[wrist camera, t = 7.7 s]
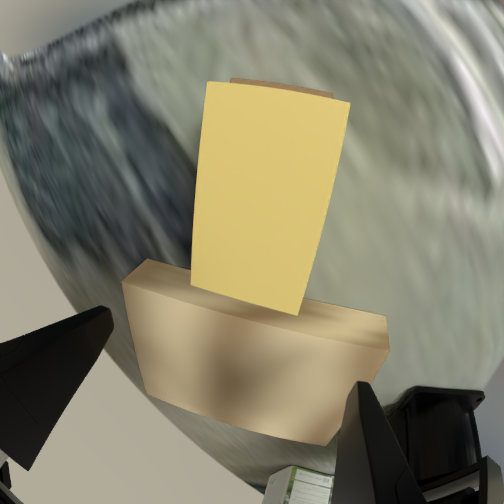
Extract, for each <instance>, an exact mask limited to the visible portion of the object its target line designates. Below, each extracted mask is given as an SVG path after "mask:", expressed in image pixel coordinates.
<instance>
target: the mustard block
mask: <svg viewBox="0 0 504 504" xmlns="http://www.w3.org/2000/svg"><path fill="white" fill-rule="evenodd" d="M349 109H350V103H348V102H344V101H339V100H335V99H333V93H329V92H325V91H320V90H315V89H310V88H305V87H299V86H293V85H287V84H281V83H274V82H266V81H258V80H249V79H239V78H231V79H230V83H224V82H209V81H208V82H207V89H206V97H205V104H204V112H203V121H202V130H201V139H200V148H199V158H198V169H197V181H196V193H195V207H194V222H193V239H192V260H191V285H192V286H195V287H199V288H202V289H205V290H208V291H212V292H215V293H218V294H222V295H225V296H228V297H232V298H235V299H239V300H242V301H246V302H249V303H253V304H256V305H260V306H263V307H267V308H270V309H274V310H278V311H281V312H285V313H289V314H293V315H296V316H298V312H299V309H300V306H301V303H302V299H303V296H304V293H305V289H306V286H307V283H308V279H309V276H310V272H311V269H312V265H313V262H314V258H315V254H316V251H317V247H318V243H319V240H320V236H321V232H322V228H323V225H324V221H325V217H326V213H327V209H328V205H329V201H330V197H331V193H332V188H333V184H334V180H335V176H336V171H337V167H338V162H339V158H340V153H341V148H342V144H343V139H344V134H345V129H346V124H347V119H348V114H349Z"/></svg>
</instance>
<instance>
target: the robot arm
mask: <svg viewBox="0 0 504 504" xmlns="http://www.w3.org/2000/svg"><path fill="white" fill-rule="evenodd" d="M113 329H114V322H113V318H112V313H111V310H110V309H109V308H107V307H105V306H97V307H95V308H92V309H90V310H87V311H84V312H82V313H79V314H77V315H74V316H72V317H69V318H66V319H64V320H61V321H59V322H56V323H53V324H51V325H48V326H46V327H43V328H40V329H38V330H35V331H33V332H30V333H28V334H25V335H22V336H20V337H17V338H14V339H12V340H9V341H6V342H3V343H0V504H23V503H22V502H21V501H20V500H19V499H18V498H17V497H16V496H15V495H14V494H13V493H12V492H11V491H10V488H11V480H10V474H9V466H8V462H7V461H6V460H7V458H8V457H10V458H11V459H13V460H14V461H15V462H16V463H18V464H19V465H20V466H22V467H23V468H24V469H26V470H27V471H29V470H30V468H31V467H32V465H33V463H34V461H35V459H36V457H37V456H38V454H39V452H40V450H41V448H42V447H43V445H44V443H45V441H46V440H47V438H48V437H49V435H50V433H51V431H52V429H53V428H54V426H55V425H56V423H57V421H58V419H59V418H60V416H61V415H62V413H63V411H64V410H65V408H66V407H67V405H68V403H69V402H70V400H71V399H72V397H73V395H74V394H75V392H76V391H77V389H78V388H79V386H80V384H81V383H82V382H83V380H84V378H85V377H86V376H87V374H88V372H89V371H90V370H91V368H92V366H93V365H94V363H95V362H96V360H97V359H98V357H99V355H100V353H101V351H102V350H103V348H104V346H105V344H106V342H107V340H108V338H109V337H110V335H111V333H112V331H113ZM484 399H485V395H484V392H483V391H465V390H449V389H437V388H426V387H418V388H416V389H414V390H413V391H412V392H411V393H410V395H409V396H408V397H407V398H406V400H405V401H404V402H403V403H402V405H401V406H400V407H399V408H398V409H397V411H395V413H394V414H393V415H392V416H391V417H390V418H389V420H387V418H386V416H385V414H384V412H383V410H382V408H381V406H380V404H379V401H378V399H377V397H376V395H375V393H374V391H373V389H372V387H371V385H370V384H369V383H368V382H365V381H356V382H355V384H354V386H353V387H352V389H351V391H350V392H349V394H348V396H347V400H346V405H345V410H344V415H343V420H342V425H341V430H340V435H339V440H338V449H337V458H336V467H335V475H334V482H333V490H332V496H331V503H330V504H503V501H504V484H503V478H502V473H501V467H500V466H499V465H498V464H497V463H495V461H493V460H492V459H491V458H490V457H489V456H488V455H487V456H485V457H483V458H482V456H481V448H480V442H479V436H478V431H477V426H476V422H475V416H474V410H475V409H476V408H477V407H478V405H479V404H480V403H481V402H482V401H483V400H484ZM478 486H479V490H478V491H476V492H475V490H474V489H473V488H476V487H478Z"/></svg>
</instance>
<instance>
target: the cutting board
mask: <svg viewBox="0 0 504 504" xmlns="http://www.w3.org/2000/svg"><path fill="white" fill-rule="evenodd" d="M121 282H122V288H123V294H124V299H125V305H126V310H127V315H128V320H129V325H130V330H131V334H132V339H133V343H134V347H135V352H136V356H137V360H138V364H139V367H140V371H141V375H142V379H143V382H144V386H145V389H146V393H147V394H148V395H151V396H153V397H155V398H158V399H160V400H163V401H165V402H167V403H170V404H172V405H175V406H177V407H180V408H183V409H185V410H188V411H191V412H194V413H196V414H199V415H202V416H205V417H208V418H211V419H214V420H217V421H220V422H223V423H226V424H230V425H233V426H236V427H240V428H243V429H247V430H251V431H254V432H258V433H262V434H266V435H270V436H275V437H279V438H283V439H288V440H293V441H298V442H303V443H308V444H314V445H320V446H326V445H327V444H328V443H329V441H330V440H331V439H332V438H333V436H334V435H335V434H336V432H337V431H338V430H339V429H340V427H341V425H342V420H343V415H344V410H345V405H346V400H347V396H348V394H349V392H350V391H351V389H352V387H353V386H354V384H355V382H356V381H365V382H368V383H369V384H371V382H372V381H373V379H374V377H375V376H376V374H377V373H378V371H379V369H380V368H381V366H382V364H383V363H384V361H385V359H386V357H387V356H388V354H389V352H390V345H389V337H388V330H387V323H386V316H383V315H378V314H373V313H369V312H364V311H359V310H354V309H350V308H345V307H341V306H336V305H331V304H327V303H322V302H318V301H314V300H309V299H305V298H303V299H302V303H301V306H300V309H299V312H298V316H296V315H293V314H289V313H285V312H281V311H278V310H274V309H270V308H267V307H263V306H260V305H256V304H253V303H249V302H246V301H242V300H239V299H235V298H232V297H228V296H225V295H222V294H218V293H215V292H212V291H208V290H205V289H202V288H199V287H195V286H192V285H191V270H188V269H184V268H180V267H176V266H173V265H169V264H165V263H162V262H158V261H154V260H151V259H146V260H145V261H144V262H143V263H142V264H140V265H139V266H138V267H137V268H136V269H135V270H134V271H133V272H131V273H130V274H129V275H128V276H127V277H126V278H125V279H124V280H122V281H121Z"/></svg>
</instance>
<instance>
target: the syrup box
mask: <svg viewBox="0 0 504 504" xmlns="http://www.w3.org/2000/svg"><path fill="white" fill-rule="evenodd" d="M333 482H334V476H331V475H327V474H323V473H319V472H316V471H312V470H308V469H304V468H301V467H297V466H294V465H292V466H289V467H287V468H285V469H282V470H280V471H278V472H276V473H274V474H272V475H271V476H270V477H269V480H268V484H267V487H266V491H265V495H264V499H263V502H262V504H330V503H331V496H332V490H333Z"/></svg>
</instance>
